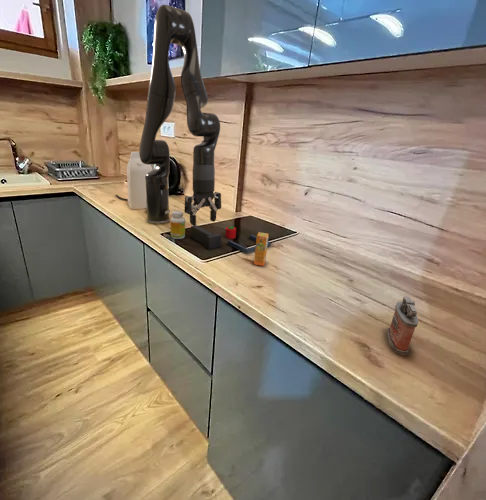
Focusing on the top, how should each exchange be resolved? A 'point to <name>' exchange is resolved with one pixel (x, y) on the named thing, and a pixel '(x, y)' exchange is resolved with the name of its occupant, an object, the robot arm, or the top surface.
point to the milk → (136, 181)
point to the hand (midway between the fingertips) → (203, 223)
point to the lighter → (402, 325)
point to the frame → (243, 249)
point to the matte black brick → (206, 237)
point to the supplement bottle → (177, 225)
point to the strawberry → (230, 232)
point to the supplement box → (261, 248)
